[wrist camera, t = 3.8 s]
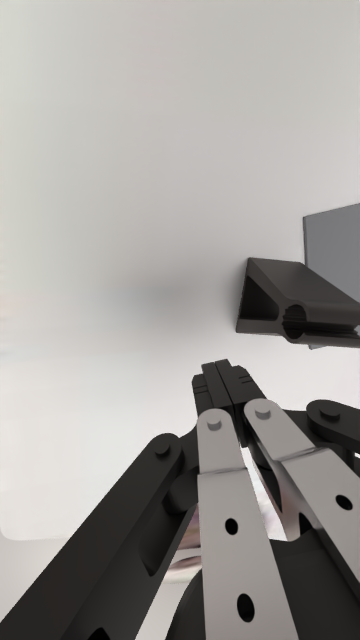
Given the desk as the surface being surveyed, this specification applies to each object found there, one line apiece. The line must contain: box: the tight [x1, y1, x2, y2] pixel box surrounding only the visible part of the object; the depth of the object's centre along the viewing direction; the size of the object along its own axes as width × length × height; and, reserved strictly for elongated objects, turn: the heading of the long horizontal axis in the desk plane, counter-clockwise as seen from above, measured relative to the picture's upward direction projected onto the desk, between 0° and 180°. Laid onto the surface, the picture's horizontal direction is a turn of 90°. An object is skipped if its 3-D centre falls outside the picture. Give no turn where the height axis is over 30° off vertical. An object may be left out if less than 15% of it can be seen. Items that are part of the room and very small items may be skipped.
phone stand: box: [236, 258, 360, 348], centre depth 18 cm, size 9×6×12 cm, turn 175°
